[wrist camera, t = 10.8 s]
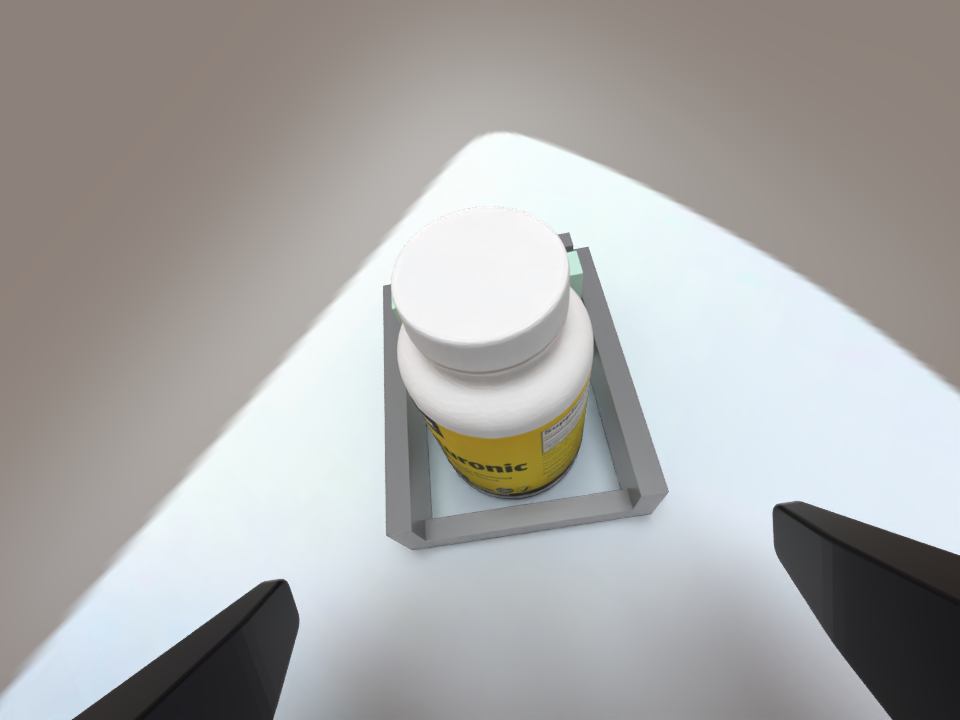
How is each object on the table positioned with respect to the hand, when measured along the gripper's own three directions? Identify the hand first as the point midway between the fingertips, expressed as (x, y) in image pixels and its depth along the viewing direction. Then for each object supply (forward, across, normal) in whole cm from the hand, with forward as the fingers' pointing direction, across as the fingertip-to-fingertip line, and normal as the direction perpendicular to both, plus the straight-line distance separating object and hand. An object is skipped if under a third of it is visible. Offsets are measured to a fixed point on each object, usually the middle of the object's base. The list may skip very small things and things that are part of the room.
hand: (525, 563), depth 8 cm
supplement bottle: (+10, 0, +2) cm, 10 cm away
